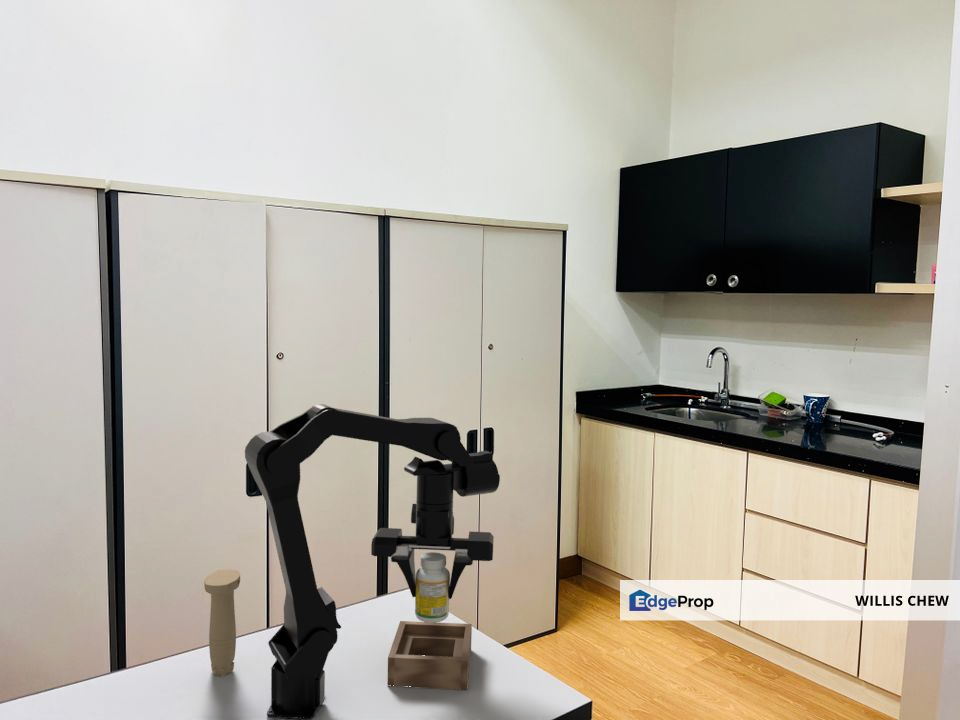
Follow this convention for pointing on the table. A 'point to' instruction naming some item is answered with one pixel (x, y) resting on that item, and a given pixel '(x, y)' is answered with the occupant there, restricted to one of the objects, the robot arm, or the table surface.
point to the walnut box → (430, 655)
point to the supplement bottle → (432, 588)
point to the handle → (222, 619)
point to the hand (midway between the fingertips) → (432, 597)
